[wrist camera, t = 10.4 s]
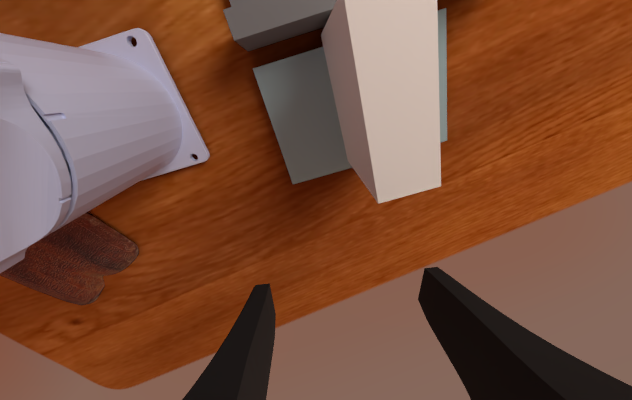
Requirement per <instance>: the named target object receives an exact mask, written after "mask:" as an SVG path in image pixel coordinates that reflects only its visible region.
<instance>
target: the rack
mask: <svg viewBox="0 0 632 400" xmlns="http://www.w3.org/2000/svg"><path fill="white" fill-rule="evenodd" d="M229 1H230V4H231V7H230V8H227V9H224V10H223V11H224V14H225V17H226V19H227V22H228V25H229V28H230V30H231V33H232V36H233V39H234V41H235V42H237V43H238V44H239V45H240V46H242V47H243V48H244V49H246V50H247V51H251V50H254V49H257V48H261V47H264V46H267V45H270V44H273V43H276V42H279V41H283V40H286V39H289V38H292V37H295V36H298V35H301V34H304V33H308V32H311V31H314V30H317V29H320V28H323V27H325V25H326V23H327V21H328V18H329V16H330V14H331V12H332V10H333V7H334V5H335V3H336V1H337V0H229Z"/></svg>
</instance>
